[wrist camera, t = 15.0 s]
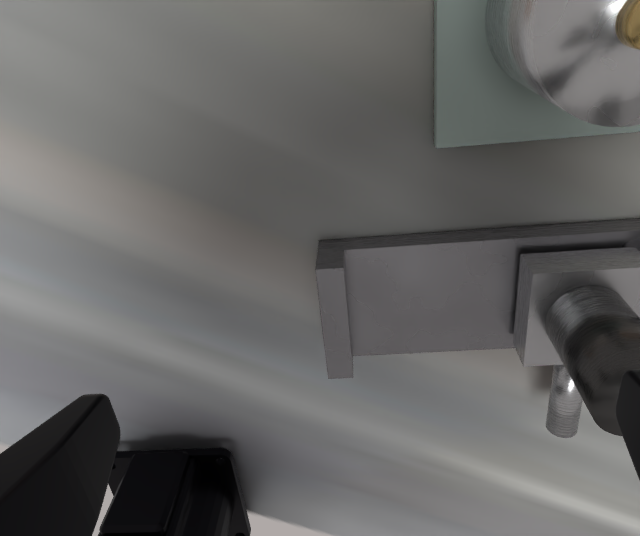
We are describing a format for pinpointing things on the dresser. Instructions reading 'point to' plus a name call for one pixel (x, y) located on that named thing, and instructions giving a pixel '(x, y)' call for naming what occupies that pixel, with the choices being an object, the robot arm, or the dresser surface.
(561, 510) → the dresser surface
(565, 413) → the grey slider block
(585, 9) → the silver bell
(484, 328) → the rail
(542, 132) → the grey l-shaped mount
